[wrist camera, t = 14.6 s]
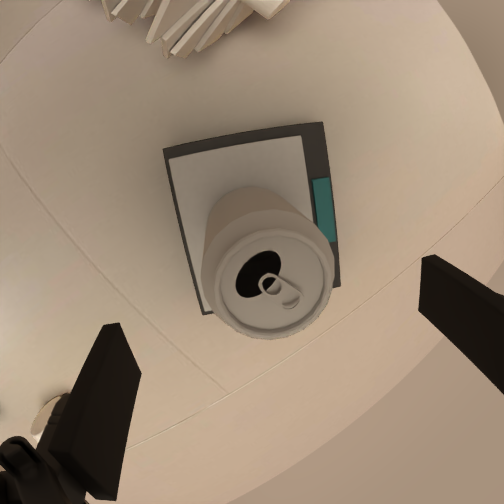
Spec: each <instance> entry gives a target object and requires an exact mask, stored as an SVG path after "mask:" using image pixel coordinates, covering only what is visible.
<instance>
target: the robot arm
mask: <svg viewBox="0 0 504 504" xmlns="http://www.w3.org/2000/svg"><path fill="white" fill-rule="evenodd" d="M418 311H419V312H420V313H421V314H422V315H424V316H425V317H426V318H427V319H428V320H429V321H430V322H431V323H432V324H433V325H434V326H435V327H436V328H437V329H438V330H440V331H441V332H442V333H443V334H444V335H445V336H446V337H447V338H448V339H449V340H450V341H451V342H452V343H453V344H454V345H455V346H456V347H457V348H458V349H459V350H460V351H461V352H462V353H463V354H464V355H465V356H466V357H468V359H469V360H470V361H472V362H473V363H474V365H475V366H477V368H478V369H479V370H480V371H481V372H482V373H484V375H485V376H486V377H487V378H488V379H489V380H490V381H491V382H492V383H493V384H494V385H495V386H496V387H497V388H498V389H499V390H500V391H501V392H502V393H503V394H504V296H503V295H501V294H498V293H495V292H494V291H492V290H491V289H489V288H488V287H486V286H485V285H483V284H482V283H480V282H479V281H477V280H476V279H474V278H472V277H471V276H469V275H468V274H466V273H465V272H463V271H461V270H460V269H458V268H457V267H455V266H453V265H452V264H450V263H448V262H447V261H445V260H443V259H442V258H440V257H438V256H437V255H435V254H434V255H430V256H426V257H423V258H422V264H421V283H420V297H419V308H418ZM141 374H142V373H141V371H140V369H139V367H138V365H137V362H136V360H135V358H134V356H133V354H132V351H131V349H130V347H129V344H128V342H127V340H126V337H125V335H124V333H123V330H122V328H121V325H120V323H113V324H106V325H103V327H102V329H101V330H100V332H99V334H98V336H97V338H96V340H95V342H94V344H93V346H92V348H91V351H90V353H89V355H88V357H87V359H86V361H85V363H84V365H83V367H82V369H81V371H80V374H79V376H78V378H77V380H76V382H75V385H74V387H73V389H72V391H71V394H64V395H63V396H62V397H61V398H60V399H59V400H58V401H57V402H56V404H55V406H54V408H53V410H52V412H51V416H50V417H49V419H48V421H47V424H46V426H45V428H44V431H43V433H42V435H41V438H40V440H39V443H38V445H37V448H36V450H35V449H34V448H33V447H32V445H31V444H30V443H29V442H28V441H27V439H25V438H23V437H21V436H14V437H11V438H8V439H7V440H6V441H4V442H3V443H2V444H1V446H0V465H1V466H2V467H3V468H4V469H5V470H6V471H1V472H0V504H89V503H88V502H87V501H86V500H85V496H86V491H87V492H88V493H89V494H91V495H92V496H93V497H94V498H95V499H98V500H109V501H116V499H117V493H118V487H119V481H120V475H121V469H122V463H123V458H124V453H125V447H126V442H127V437H128V432H129V427H130V422H131V418H132V413H133V409H134V404H135V400H136V395H137V391H138V387H139V382H140V378H141Z"/></svg>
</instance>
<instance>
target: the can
mask: <svg viewBox="0 0 504 504" xmlns="http://www.w3.org/2000/svg"><path fill="white" fill-rule="evenodd" d="M334 277H335V274H334V256H333V253H332V250H331V247H330V245H329V242H328V239H327V238H326V237H325V236H324V235H323V233H322V232H321V231H320V230H319V229H318V227H317V226H316V225H315V224H314V223H313V222H312V221H310V220H309V219H308V218H307V217H306V216H304V215H303V214H302V213H301V212H299V211H298V210H297V209H296V208H295V207H293V206H292V205H291V204H290V203H288V202H287V201H286V200H285V199H283V198H282V197H281V196H279V195H278V194H276V193H274V192H272V191H271V190H269V189H265V188H260V187H255V186H253V187H245V188H238V189H236V190H234V191H232V192H230V193H228V194H226V195H225V196H224V197H222V198H221V199H220V200H219V201H218V202H217V203H216V204H215V205H214V207H213V209H212V211H211V213H210V215H209V216H208V220H207V226H206V232H205V240H204V249H203V258H202V267H201V283H202V288H203V293H204V297H205V299H206V301H207V302H208V304H209V306H210V307H211V309H212V311H213V312H214V314H216V315H217V316H218V317H219V318H220V319H221V320H222V321H224V322H225V323H226V324H227V325H228V326H231V327H232V328H233V329H234V330H235V331H237V332H239V333H241V334H244V335H246V336H249V337H251V338H256V339H266V340H272V339H279V338H285V337H289V336H291V335H293V334H295V333H297V332H300V331H302V330H304V329H305V328H306V327H308V326H309V325H310V324H311V323H312V322H314V321H315V320H316V319H317V318H318V317H319V315H320V314H321V312H322V311H323V310H324V308H325V307H326V305H327V304H328V300H329V297H330V294H331V291H332V288H333V280H334Z"/></svg>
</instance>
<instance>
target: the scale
mask: <svg viewBox="0 0 504 504" xmlns="http://www.w3.org/2000/svg"><path fill="white" fill-rule="evenodd" d="M163 153H164V158H165V163H166V168H167V173H168V178H169V182H170V187H171V192H172V196H173V201H174V205H175V210H176V214H177V218H178V223H179V227H180V231H181V235H182V239H183V243H184V248H185V252H186V256H187V260H188V263H189V267H190V271H191V275H192V279H193V283H194V286H195V290H196V294H197V298H198V301H199V305H200V309H201V312H202V315H207V314H213V313H214V312H213V311H212V309H211V307H210V306H209V304H208V302H207V301H206V299H205V297H204V293H203V288H202V283H201V267H202V258H203V249H204V240H205V232H206V226H207V220H208V216H209V215H210V213H211V211H212V209H213V207H214V205H215V204H216V203H217V202H218V201H219V200H220V199H221V198H222V197H224V196H225V195H226V194H228V193H230V192H232V191H234V190H236V189H238V188H245V187H253V186H255V187H260V188H265V189H269V190H271V191H272V192H274V193H276V194H278V195H279V196H281V197H282V198H283V199H285V200H286V201H287V202H288V203H290V204H291V205H292V206H293V207H295V208H296V209H297V210H298V211H299V212H301V213H302V214H303V215H304V216H306V217H307V218H308V219H309V220H310V221H312V222H313V223H314V224H315V225H316V226H317V227H318V229H319V230H320V231H321V232H322V233H323V235H324V236H325V237H326V238H327V239H328V242H329V245H330V247H331V250H332V253H333V256H334V274H335V277H334V280H333V288H336V287H340V286H341V282H340V266H339V253H338V241H337V229H336V219H335V209H334V200H333V191H332V183H331V175H330V167H329V160H328V152H327V146H326V139H325V132H324V126H323V122H314V123H305V124H297V125H289V126H281V127H274V128H267V129H261V130H254V131H248V132H242V133H236V134H231V135H225V136H220V137H215V138H210V139H205V140H200V141H195V142H190V143H186V144H181V145H177V146H173V147H168V148H164V149H163Z"/></svg>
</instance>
